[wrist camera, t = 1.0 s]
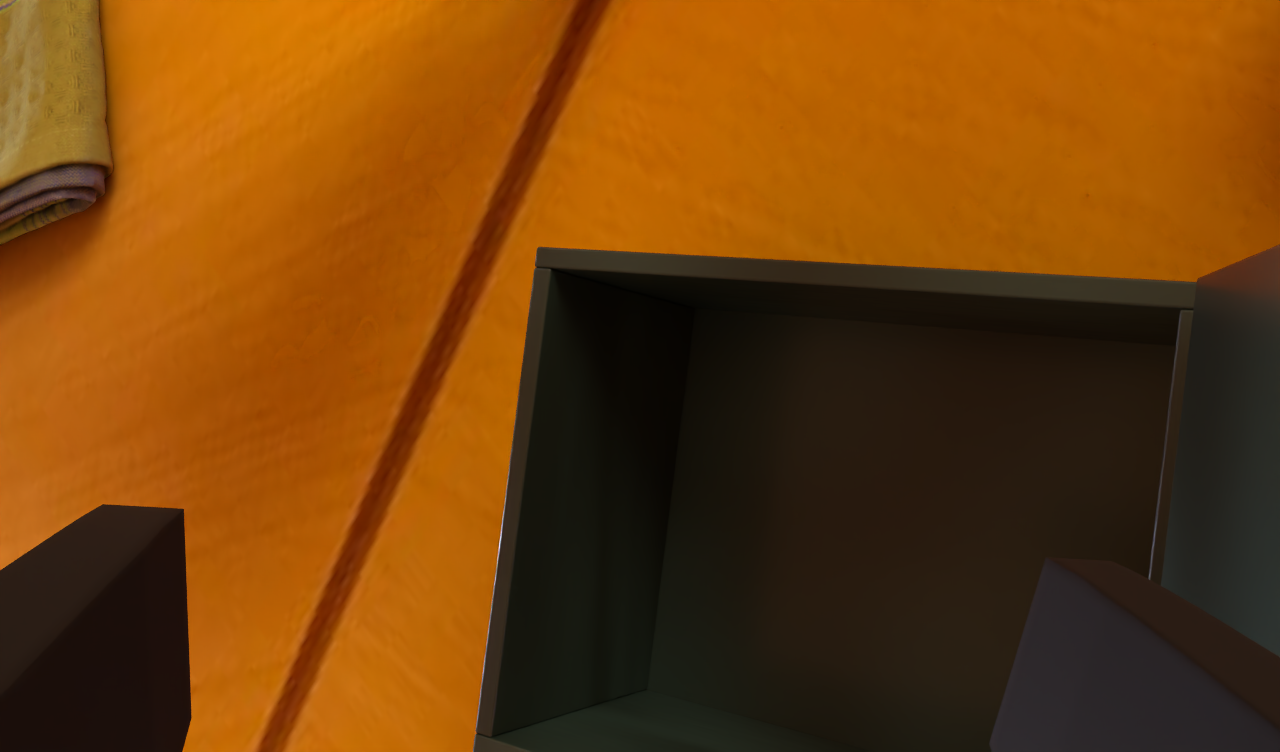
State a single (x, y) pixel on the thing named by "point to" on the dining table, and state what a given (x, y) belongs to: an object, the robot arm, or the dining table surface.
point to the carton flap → (1231, 453)
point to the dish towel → (50, 112)
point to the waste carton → (811, 495)
